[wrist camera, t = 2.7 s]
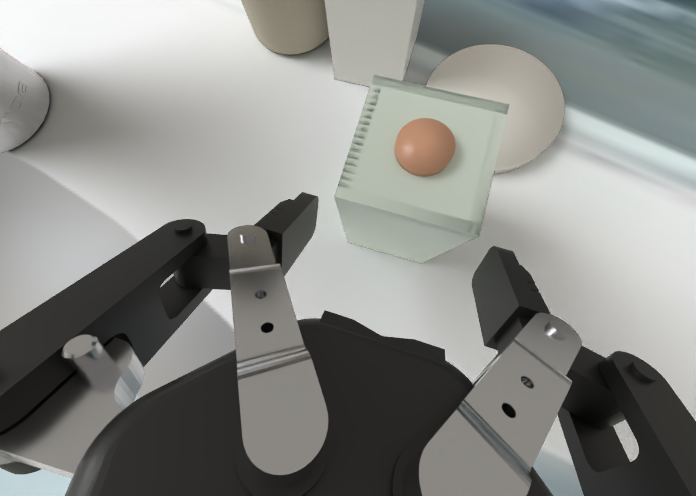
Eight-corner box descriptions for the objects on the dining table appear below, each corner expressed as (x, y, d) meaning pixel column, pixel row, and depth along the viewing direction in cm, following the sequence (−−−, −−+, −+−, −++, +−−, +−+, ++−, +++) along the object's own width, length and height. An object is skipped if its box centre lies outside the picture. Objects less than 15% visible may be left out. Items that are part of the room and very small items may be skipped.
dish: (405, 154, 22) (408, 147, 20) (437, 45, 23) (441, 32, 22) (540, 188, 20) (551, 182, 19) (563, 71, 22) (575, 59, 21)
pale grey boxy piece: (347, 242, 21) (333, 192, 10) (368, 174, 21) (374, 67, 11) (421, 263, 20) (483, 233, 10) (439, 193, 21) (515, 97, 11)
